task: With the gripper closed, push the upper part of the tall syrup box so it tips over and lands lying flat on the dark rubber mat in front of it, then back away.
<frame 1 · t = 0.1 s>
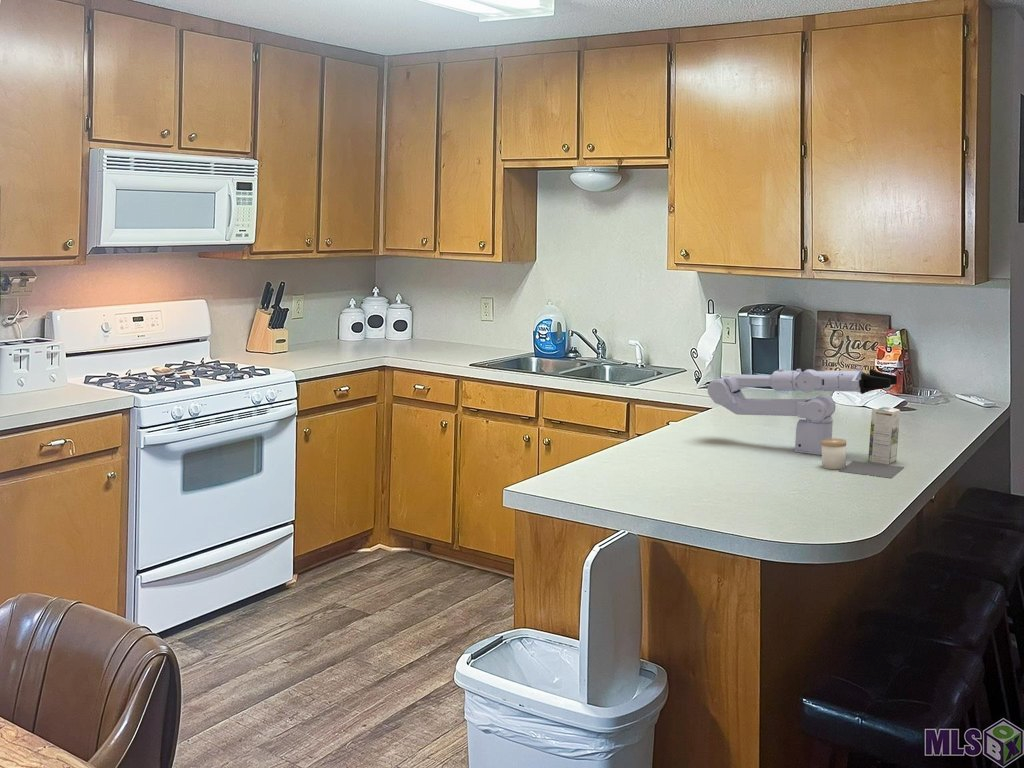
hand: (893, 381, 263), 22 cm above the worktop, tool horizontal, fingers open, 7 cm apart
canister: (833, 466, 259), on the worktop, touching mat
syrup box: (882, 462, 265), on the worktop
mat: (871, 470, 256), on the worktop
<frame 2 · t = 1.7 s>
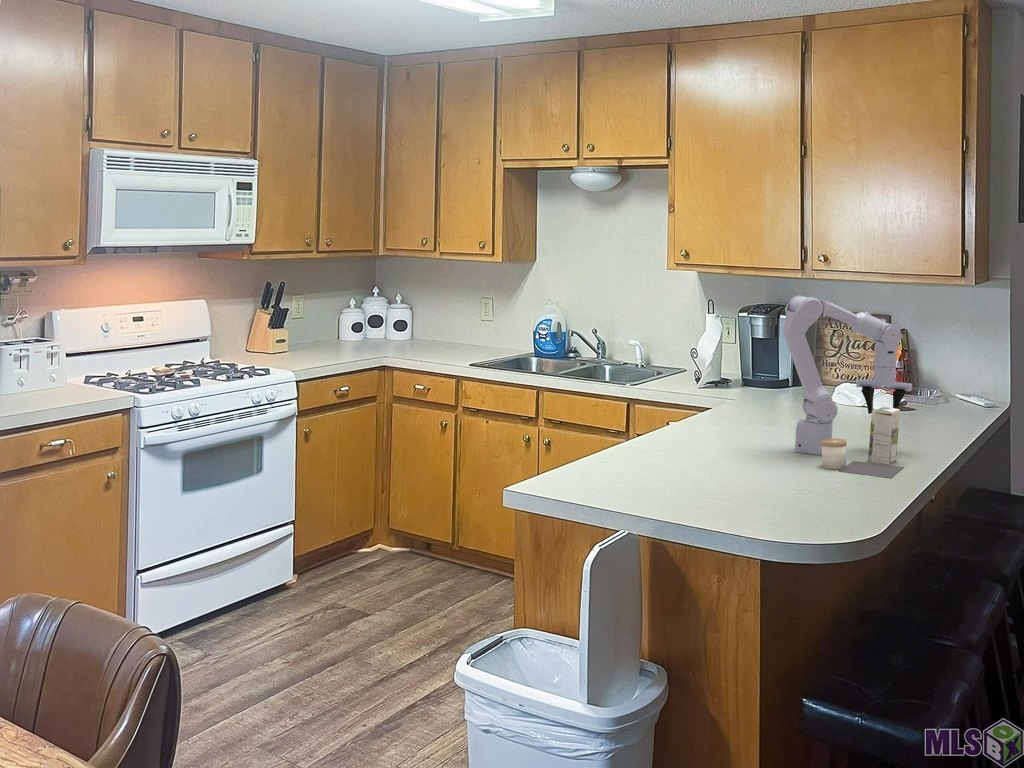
hand: (882, 414, 277), 10 cm above the worktop, tool pointing down, fingers open, 6 cm apart
nothing on the worktop moved.
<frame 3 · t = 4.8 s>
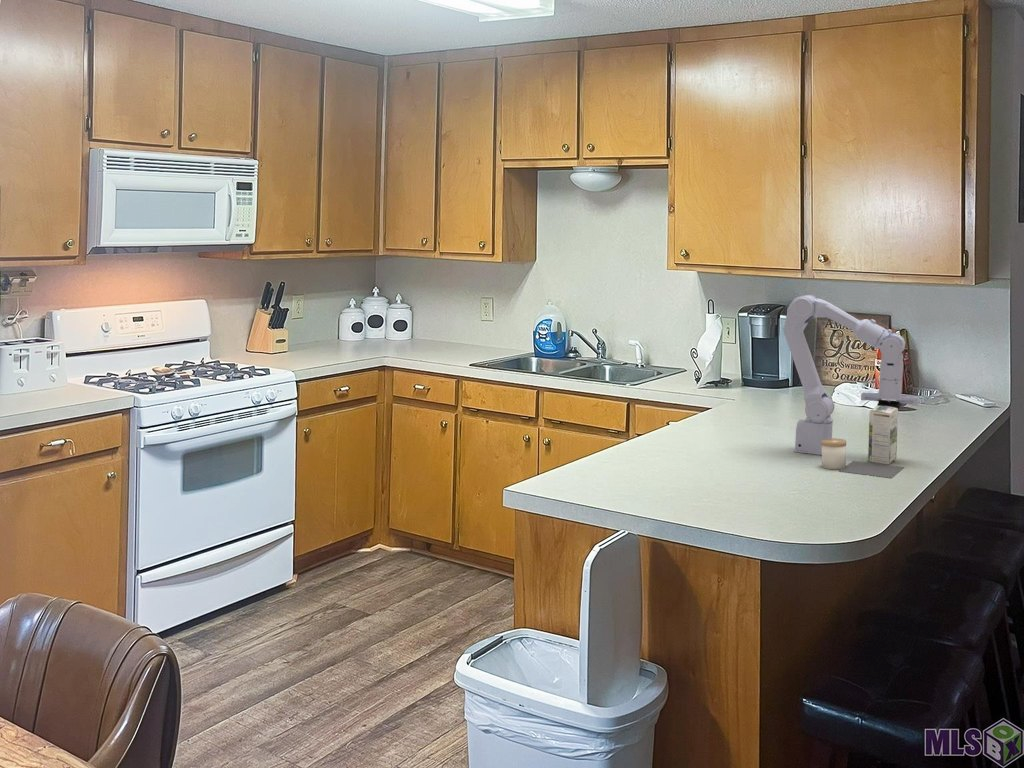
hand: (887, 428, 267), 8 cm above the worktop, tool pointing down, fingers closed
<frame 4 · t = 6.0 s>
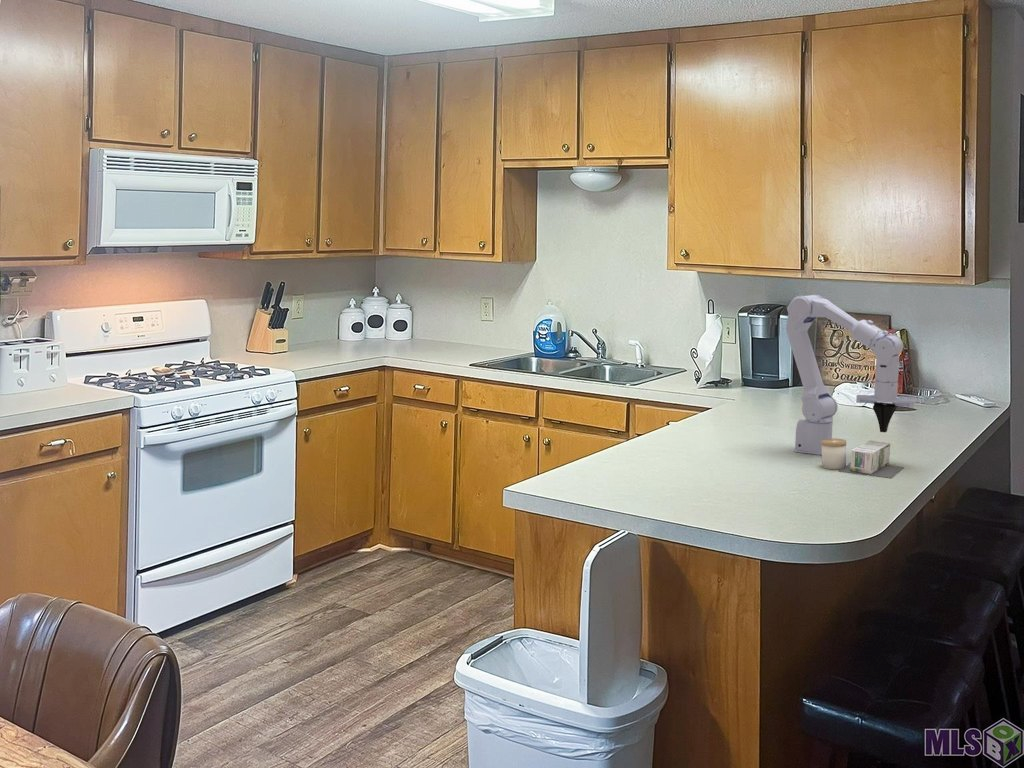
hand: (883, 431, 263), 8 cm above the worktop, tool pointing down, fingers closed
syrup box: (879, 451, 263), point 3 cm above the worktop, touching mat
everything else where it was.
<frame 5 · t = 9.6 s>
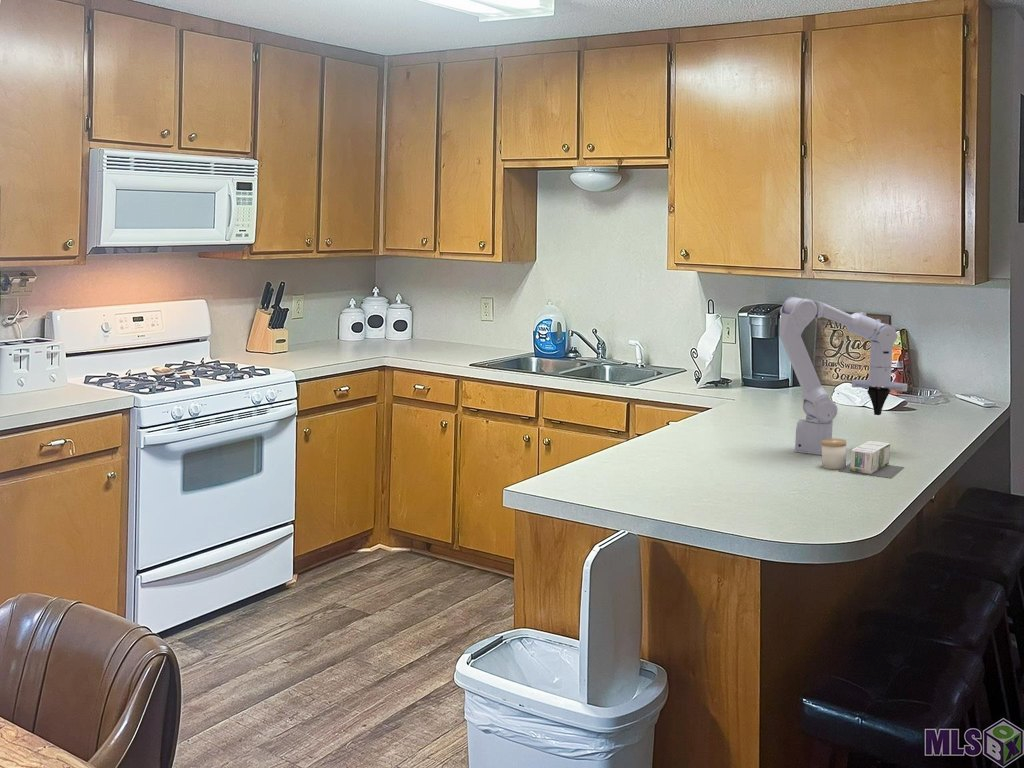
hand: (877, 414, 277), 10 cm above the worktop, tool pointing down, fingers closed
nothing on the worktop moved.
at the end: syrup box tilted 90°; syrup box inside the target area (6.4 cm from its centre), point 3.2 cm above the worktop; syrup box touching mat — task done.
